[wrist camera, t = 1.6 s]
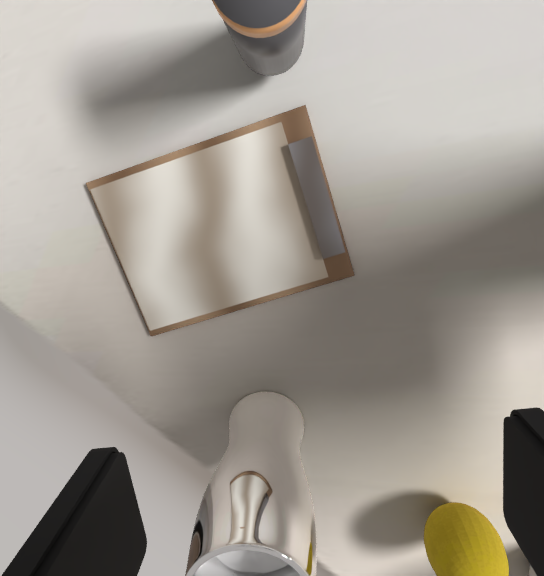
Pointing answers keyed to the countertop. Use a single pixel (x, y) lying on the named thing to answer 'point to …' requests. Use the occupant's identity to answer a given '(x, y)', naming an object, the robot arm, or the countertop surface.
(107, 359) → the countertop surface
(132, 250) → the clipboard
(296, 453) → the beer glass
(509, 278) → the countertop surface
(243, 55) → the grey rounded cylinder
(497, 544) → the lemon
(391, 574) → the countertop surface
